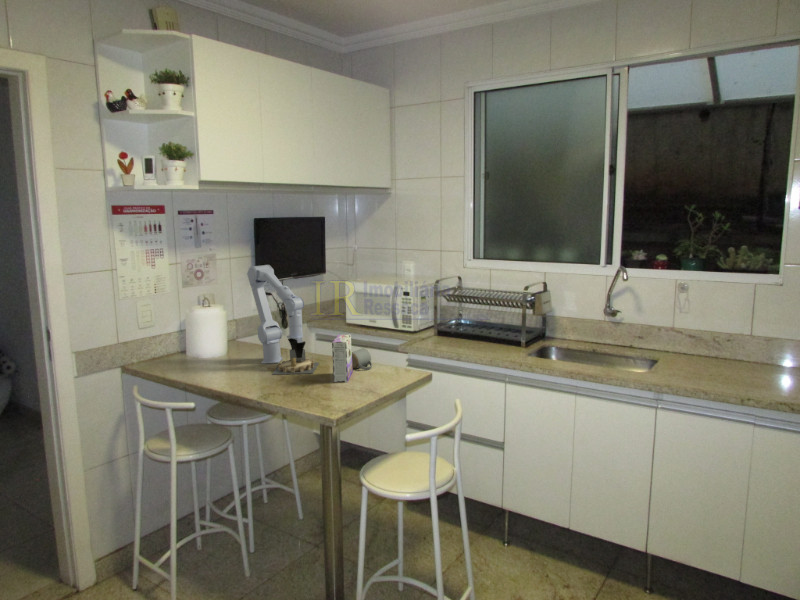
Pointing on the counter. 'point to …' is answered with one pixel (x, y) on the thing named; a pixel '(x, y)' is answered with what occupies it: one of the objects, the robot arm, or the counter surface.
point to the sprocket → (295, 365)
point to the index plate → (296, 372)
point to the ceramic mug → (361, 359)
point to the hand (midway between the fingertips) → (297, 355)
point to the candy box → (342, 358)
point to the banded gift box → (293, 355)
